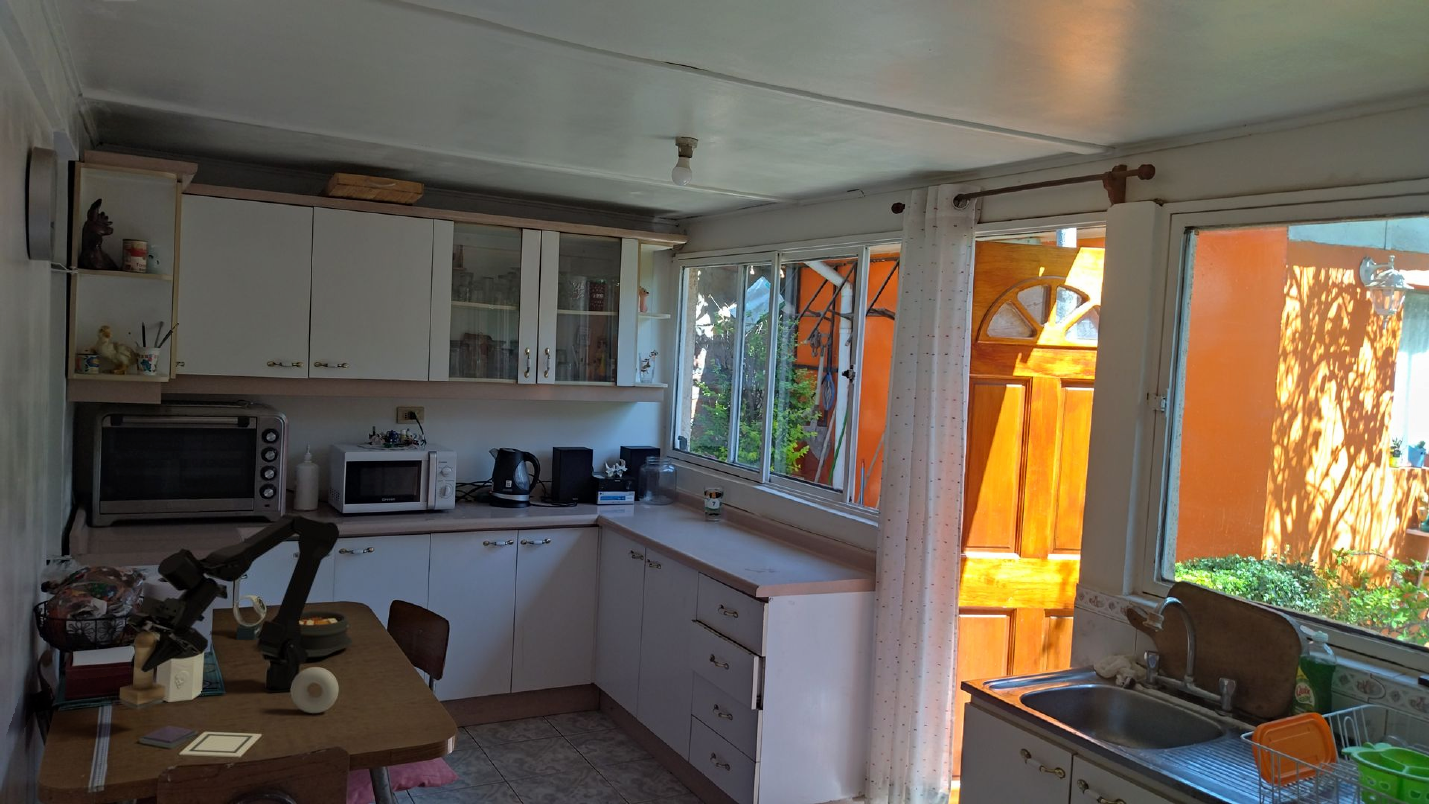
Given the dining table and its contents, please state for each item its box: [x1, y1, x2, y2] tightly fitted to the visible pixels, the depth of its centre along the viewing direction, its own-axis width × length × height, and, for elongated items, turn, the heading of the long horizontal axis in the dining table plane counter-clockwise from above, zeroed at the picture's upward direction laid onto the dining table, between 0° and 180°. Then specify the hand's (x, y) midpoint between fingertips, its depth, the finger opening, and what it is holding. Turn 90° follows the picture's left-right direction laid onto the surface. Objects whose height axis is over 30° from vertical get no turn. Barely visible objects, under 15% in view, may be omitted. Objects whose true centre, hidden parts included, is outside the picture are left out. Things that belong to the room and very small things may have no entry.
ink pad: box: [139, 725, 199, 749], centre depth 191 cm, size 7×7×1 cm
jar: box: [155, 644, 205, 703], centre depth 214 cm, size 9×8×12 cm
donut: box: [289, 666, 340, 714], centre depth 210 cm, size 10×4×10 cm, turn 94°
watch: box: [232, 594, 268, 641], centre depth 260 cm, size 6×8×11 cm
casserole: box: [299, 610, 353, 658], centre depth 254 cm, size 25×19×8 cm
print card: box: [178, 731, 262, 758], centre depth 190 cm, size 11×11×1 cm
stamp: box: [119, 631, 165, 710], centre depth 194 cm, size 6×6×14 cm
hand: (137, 669), depth 193 cm, fingers closed on stamp, 3 cm apart
